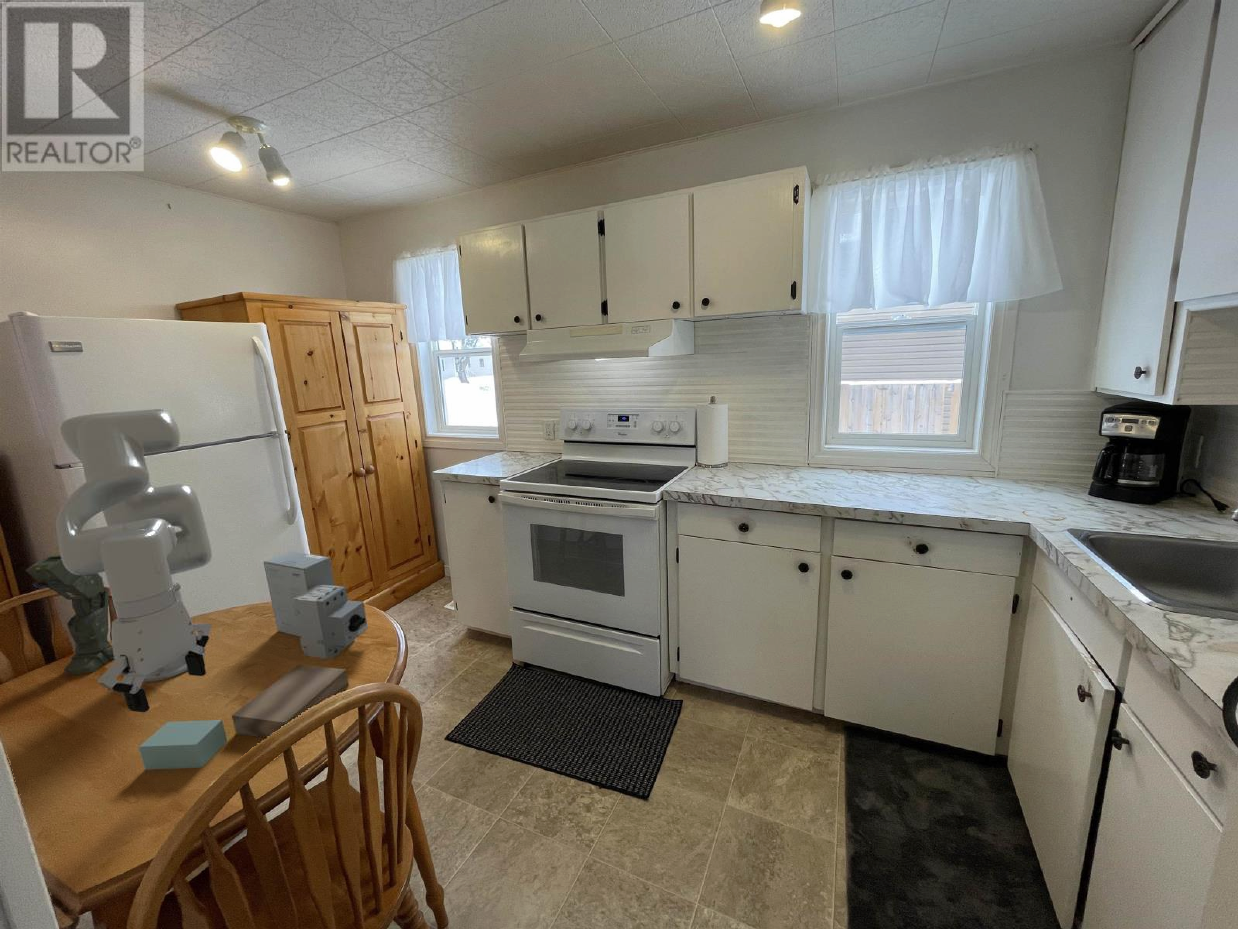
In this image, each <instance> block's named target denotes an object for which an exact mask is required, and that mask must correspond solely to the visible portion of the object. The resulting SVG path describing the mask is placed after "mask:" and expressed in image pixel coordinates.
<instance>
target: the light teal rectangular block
mask: <svg viewBox="0 0 1238 929" xmlns="http://www.w3.org/2000/svg"><path fill="white" fill-rule="evenodd" d="M227 742H228V738H227V734H226V730H225V727H224V723H223V719H208V720H207V719H206V720H186V721H185V720H183V721H168V722H165V724H163V726H161V727H160V728H159V729H158V730H156V731H155V732H154V733H153V734H152V735H151V736H149V737H148V738H147V739H146V740H145V741H144V742H143V743H141V744H140V745H139V746H138V748H139V749H138V750H139V752H140V755H141V759H142V762H143V766H144V768H145V770H146V771H147V770H165V769H166V770H167V769H168V770H170V769H193V768H194V769H195V768H203V767H204V766H205V765H206V764H208V762H209V761H210V760H211V759H212V758H213V757H214V756H215V755H216V754H217V753H218V752H219V751H220V750H221V749H222V747H224V745H225V744H227Z"/></svg>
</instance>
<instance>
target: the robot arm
mask: <svg viewBox="0 0 1238 929" xmlns="http://www.w3.org/2000/svg"><path fill="white" fill-rule="evenodd" d="M60 433H61V438H62V439H63V441H64V442H65V444H66V446H67V447H68V449H69V450H70V451H71V453H72V454H73V455H74V456H75V457H76V458H77V459H78V460H79V461H80V463H82V469H83V475H84V479H85V482H84V483H82V485H80V486H79V487H78V488H76V490H74V492H72V494H71V495H69V497H68V498H67V499H66V501H65V502H64V503H63V505H62V506H61V507H60V510H59V511H58V515H57V517H56V524H55V527H56V536H57V537H56V538H57V543H58V549H59V555H60V556H61V559H62V562H63V564H64V566H65V568H66V569H67V570H68V571H69V572H71V573H73V574H76V575H91V574H95V573H98V574H100V573H104V574H105V577H106V581H107V585H108V588H109V590H110V594H111V599H112V601H113V604H114V608H115V612H116V617H117V618H116V619H114V620H113V621H112V622H111V645H112V647H113V654H114V659H113V660H114V663H113V664H112V665H111V666H110V667H108V669H107V670H106V671H105V672H104V673H103V674H102V675H101V676H100V677H99V678H98V679H97V683H98V684H99V685H100V686H102V687H104V688H105V689H107V690H108V691H109V692H110V691H111V692H117V693H121V694H122V693H123V695H124V699H125V702H126V705H127V708H128V709H129V711H132V712H137V713H146V712H148V711H149V709H150V704H149V701H148V698H147V694H146V690H145V689H144V688H141V687H142V684H143V683H147V682H148V683H150V682H157V681H162V680H166V679H169V678H172V677H175V676H178V675H179V674H182V673H184V672H187V671H188V675H189V676H197V677H204V676H206V674H207V671H206V663H205V660H204V658H205V656H206V653H205V652H206V646H207V643H208V642H209V640H210V637H209V635H210V631H211V627H212V624H211V623H193V621H192V619H191V616H190V614H189V612H188V610H187V608H186V606H185V604H184V601H183V600H184V599H183V596H182V592H181V585H180V583H178V582H175V583H174V582H173V578H172V575H173V576H174V575H177V574H182V573H184V572H188V571H193V570H196V569H199V568H202V567H204V566H207V565H208V564H210V561H211V559H212V546H211V543H210V539H209V534H208V530H207V528H206V527H207V526H206V523H205V520H204V519H205V518H204V516H203V515H204V514H203V512H202V507H201V505H200V502H199V498H198V495H197V493H196V492H195V490H194V489H193V488H192V487H190V486H188V485H186V484H176V483H175V484H171V485H170V484H169V485H164V486H158V487H153V486H152V485H151V481H150V473H149V471H148V470H149V469H148V467H147V462H146V459H145V455H147V454H155V453H162V452H169V451H175V450H176V449H178V448H179V445H180V439H181V434H180V430H179V427H178V424H177V422H176V420H175V419H174V417H173V415H172V414H170V413H169V411H167V410H166V409H164V408H163V409H161V408H160V409H159V408H157V409H156V408H155V409H143V410H140V409H139V410H129V411H118V412H117V411H115V412H114V411H113V412H103V413H100V412H99V413H91V414H84V415H78V416H73V417H71V418H67V419H66V420H64V421H62V423H61V426H60ZM101 512H102V513H103V517H104V520H105V523H106V526H100V527H96V528H90V529H86V530H83V528H84V526H85V524H87V522H89V520H91V519H92V518H93V517H95V516H96V515H97V514H99V513H101ZM175 527H176V528H180V529H181V530H178V531H176V530H175ZM196 632H197V634H196ZM118 676H123V678H122V680H121V682H120V681H119V680H118V679H117V678H118Z"/></svg>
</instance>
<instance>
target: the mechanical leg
mask: <svg viewBox="0 0 1238 929" xmlns="http://www.w3.org/2000/svg"><path fill="white" fill-rule="evenodd" d="M25 572H26V573H28V574H29V575H30V576H31V577H32V578H33V579H34V580H36V581H37V582H34V583H33V584H32V586H33V587H34V588H46V589H49V590H52V591H54V592H55V593H57V594H58V595H60V596H62V597H63V598H64V599H66V600H68V601H70V600H71V606H72V609H73V610H74V613H75V614H74V615H73V616H71V617H70V619H69V620H68V622H67V623H66V625H67V628H68V631H69V634H70V637H72V640H73V642H74V643H75V648H74V655H72V657H70V660H71V661H70V662H69V663H68V664H67V665H66V666H65V668H64V669H63V671H64V672H65V675H67V676H70V675H73V676H74V675H84V674H85V675H86V674H92V673H93V672H96V671H97V670H98V669H99V668H101V667H102V666H104V665H106V664H108V663H109V662H110V661H112V660H115V659H114V654H113V647H112V644H110V641H109V640H108V635H109V632H110V631H109V601H110V600H109V598H110V596H109V590H108V589H106V588H105V585H104V580H103V577H102V576H101V575H100V573H95V574H91V575H76V574H73V573H71V572H69V571H68V570H67V569H66V568H65V566H64V564H63V562H62V559H61V556H60V554H59V555H58V554H57V555H55V554H54V555H48V556H47V557H43V558H42V559H40V560H39V561H37V562H35V563H34V564H32V565H31V566H29V567H28V568H26V569H25Z"/></svg>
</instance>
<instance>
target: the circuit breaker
mask: <svg viewBox="0 0 1238 929" xmlns="http://www.w3.org/2000/svg"><path fill="white" fill-rule="evenodd" d="M293 601H295V605H294V610H295V615H297V616H299V619H300V624H301V629H302V634H303V637H300V638H299V639H300V645H301V649H302V651H303V654H302V655H303V656H304V657H305V656H307V657H312V658H321V659H334V658H335V657H336V656H338V655H339V654H340V653H342V652H343V651H344V650H345V649H347V647H349V646H350V645H352V643H354V642H355V641H354V640H356V639H357V638H358V637H360V636H361V635H363V633H365V631H367V630H368V628H369V627H368V621H367V617H366V610H365V605H364V604H365V603H364V601H359V600H357V601H356V600H348V593H347V589H346V586H341V585H335V586H330V585H321V586H319V585H316V586H315V587H313V588H311V589H310V590H308V591H307V593H303V594H301V595H300V596H298V597H296V598H295V599H293ZM297 610H299V612H297ZM353 641H354V642H353Z"/></svg>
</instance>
